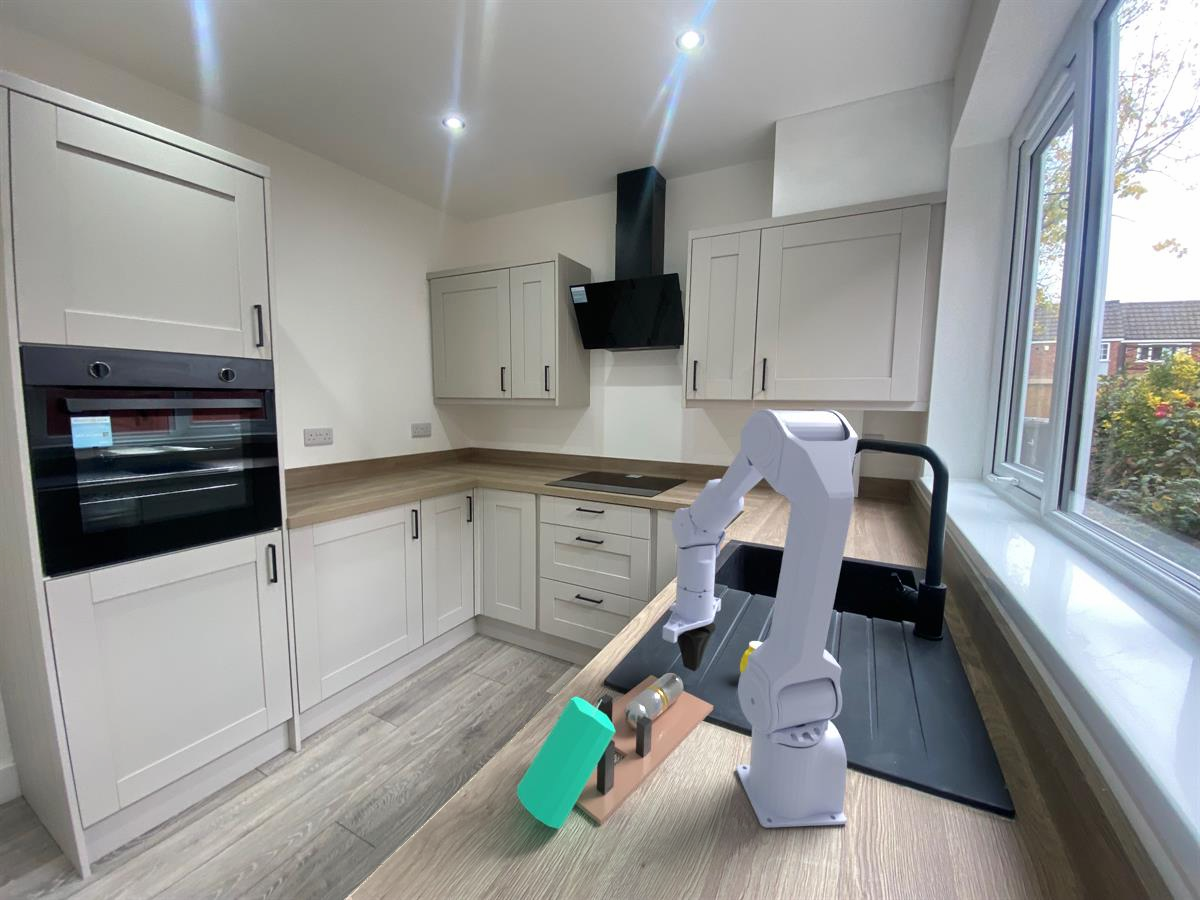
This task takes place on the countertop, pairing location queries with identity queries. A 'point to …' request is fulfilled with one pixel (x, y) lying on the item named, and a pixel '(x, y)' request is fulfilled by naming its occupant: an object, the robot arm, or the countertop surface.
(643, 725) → the black upright posts
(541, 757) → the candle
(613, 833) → the countertop surface
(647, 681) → the plate
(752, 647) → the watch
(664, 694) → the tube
